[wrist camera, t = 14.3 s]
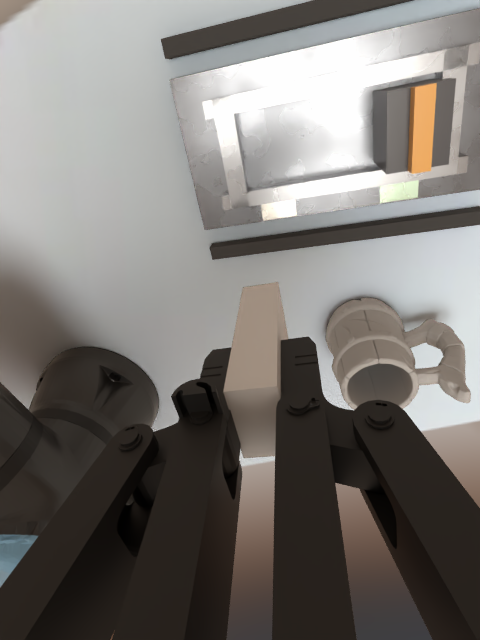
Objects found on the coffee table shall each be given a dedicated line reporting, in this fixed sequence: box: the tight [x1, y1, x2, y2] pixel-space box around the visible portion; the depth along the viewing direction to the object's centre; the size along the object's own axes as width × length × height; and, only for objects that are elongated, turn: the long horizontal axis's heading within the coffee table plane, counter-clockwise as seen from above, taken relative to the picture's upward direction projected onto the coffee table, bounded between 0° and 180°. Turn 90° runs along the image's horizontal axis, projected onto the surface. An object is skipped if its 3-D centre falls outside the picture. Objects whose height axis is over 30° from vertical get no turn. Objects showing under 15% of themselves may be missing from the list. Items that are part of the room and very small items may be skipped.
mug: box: [326, 298, 471, 410], centre depth 35 cm, size 8×12×12 cm, turn 105°
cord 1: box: [210, 206, 480, 260], centre depth 35 cm, size 24×1×1 cm, turn 100°
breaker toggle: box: [373, 78, 456, 175], centre depth 27 cm, size 4×5×6 cm
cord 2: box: [161, 0, 413, 59], centre depth 27 cm, size 24×1×1 cm, turn 100°
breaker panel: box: [169, 8, 480, 230], centre depth 30 cm, size 24×12×3 cm, turn 100°
